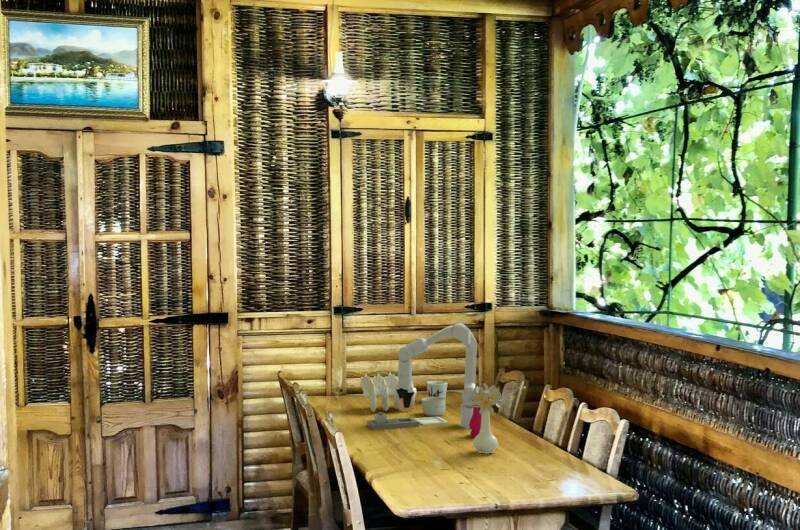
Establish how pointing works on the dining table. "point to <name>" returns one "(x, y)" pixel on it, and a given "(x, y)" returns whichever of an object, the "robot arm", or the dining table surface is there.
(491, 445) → the flower vase
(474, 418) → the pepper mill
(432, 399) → the teacup
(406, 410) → the orange plug
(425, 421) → the tray
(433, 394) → the mug
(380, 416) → the seated twin plug
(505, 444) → the dining table surface
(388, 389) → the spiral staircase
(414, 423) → the grey socket board
